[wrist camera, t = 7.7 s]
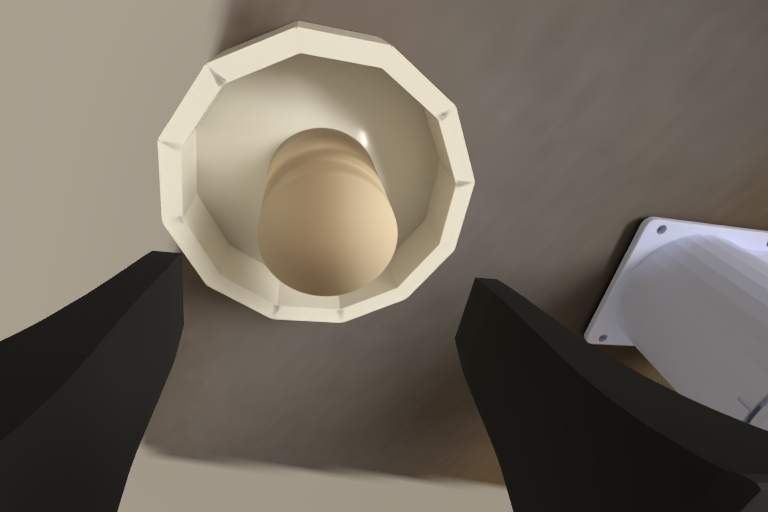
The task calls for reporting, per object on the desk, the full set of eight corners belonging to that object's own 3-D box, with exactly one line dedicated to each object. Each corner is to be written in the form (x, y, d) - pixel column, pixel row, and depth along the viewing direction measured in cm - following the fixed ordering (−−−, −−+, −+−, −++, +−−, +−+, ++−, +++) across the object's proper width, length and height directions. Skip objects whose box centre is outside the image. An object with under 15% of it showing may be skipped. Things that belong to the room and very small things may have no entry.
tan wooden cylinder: (382, 133, 18) (408, 179, 14) (368, 231, 20) (387, 297, 16) (268, 121, 17) (257, 167, 13) (267, 226, 19) (257, 294, 15)
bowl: (479, 56, 17) (508, 68, 15) (416, 289, 23) (431, 327, 20) (175, -4, 15) (149, -3, 12) (184, 272, 20) (167, 313, 18)
